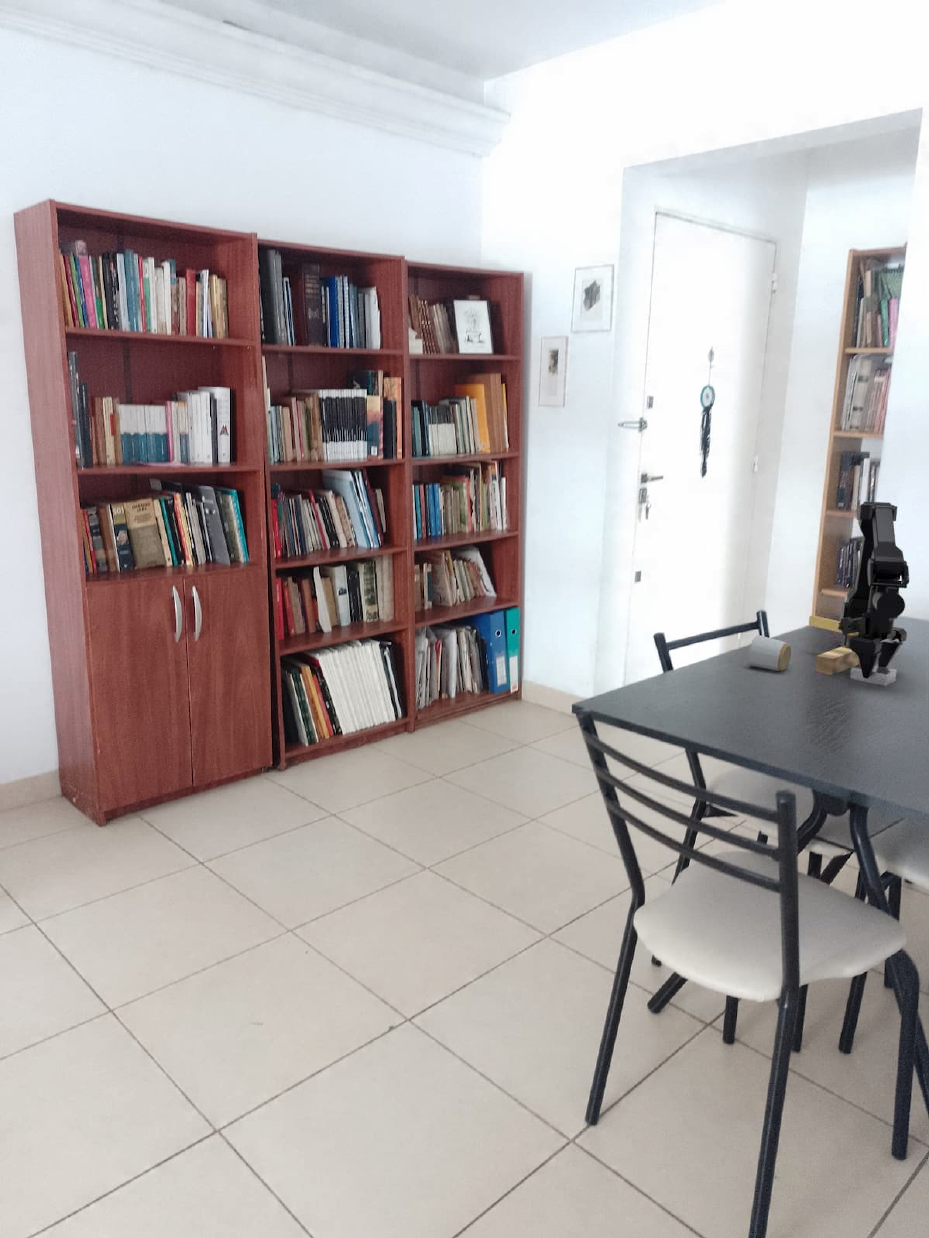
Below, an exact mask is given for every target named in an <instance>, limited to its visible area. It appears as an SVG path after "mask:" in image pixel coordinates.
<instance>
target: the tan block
mask: <svg viewBox="0 0 929 1238" xmlns="http://www.w3.org/2000/svg"><path fill="white" fill-rule="evenodd" d="M852 637H854V636H850V635H847V641H846V645H844V646H842V647H839V646H838V647H837V648H833V649H831V650H828V651H826V652H823V653H821V654H817V656H816V665H815V673H819V674H823V675H824V674H825V675H828V674H829V676H834V675H836V674H838V673H842V672H843V671H846V670H848V669H851V667H853V666H856V665H858V664H860V660H859V657H858V655H857V654H856V653H855V652H853V651H852V650H851V649H849V648H848V640H849V639H850V638H852ZM833 674H834V675H833Z"/></svg>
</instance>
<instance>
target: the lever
mask: <svg viewBox="0 0 929 1238" xmlns="http://www.w3.org/2000/svg"><path fill="white" fill-rule="evenodd" d="M808 619H809V620H808V626H811V627H815V628H820V629H824V630H829V631H832V632H836V633H841V634H842V631H841V630H839V629H838V627H839V623H840V620H839V621H838V620H835V619H831V618H827V617H822V616H818V615H809V618H808ZM848 635H850V636H856V635H858V632H856V633H850V634H848Z"/></svg>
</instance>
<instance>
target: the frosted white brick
mask: <svg viewBox="0 0 929 1238" xmlns="http://www.w3.org/2000/svg"><path fill="white" fill-rule="evenodd" d="M849 676H850V679H851V678H852V680H856V681H861V682H864V681H865V682H866V683H870V684H874V685H878V684H879V686H884V687H886V686H888V685H890V684H892V683H894V682H896V677H897V669H894V668H889V667H886V668H885V667H880V666H878V665H876V664H875V666H874V668H873V670H872V673H871V674H870V676H869V678H868V679H866V678H863V675H862V670H861V665H860V663H859V664H858V665H856V666H853V667H851V668H850V675H849Z"/></svg>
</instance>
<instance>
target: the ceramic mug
mask: <svg viewBox="0 0 929 1238" xmlns="http://www.w3.org/2000/svg"><path fill="white" fill-rule="evenodd" d="M748 649H749V650H748V659H747V660H748V665H750V666H751V667H754V668H758V669H759V668H760V669H764V670H765V669H766V670H770V671H774V672H783V671H784V670H786V669H787V668H788V666H789V663H790V659H791V656H792V647H791V645H790V644H789V643H788V642H786V641H784V640H779V639H775V638H771V637H768V636H763V635H760V634H758V635H756V636H754V638H753V639H752V641H751V643H750V645H749V648H748Z"/></svg>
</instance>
